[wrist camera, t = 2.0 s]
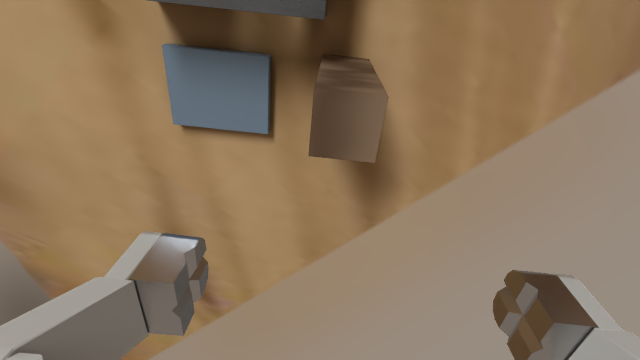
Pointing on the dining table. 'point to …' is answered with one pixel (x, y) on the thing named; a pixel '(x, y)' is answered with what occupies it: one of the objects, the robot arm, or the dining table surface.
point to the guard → (266, 6)
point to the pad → (218, 88)
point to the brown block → (347, 110)
